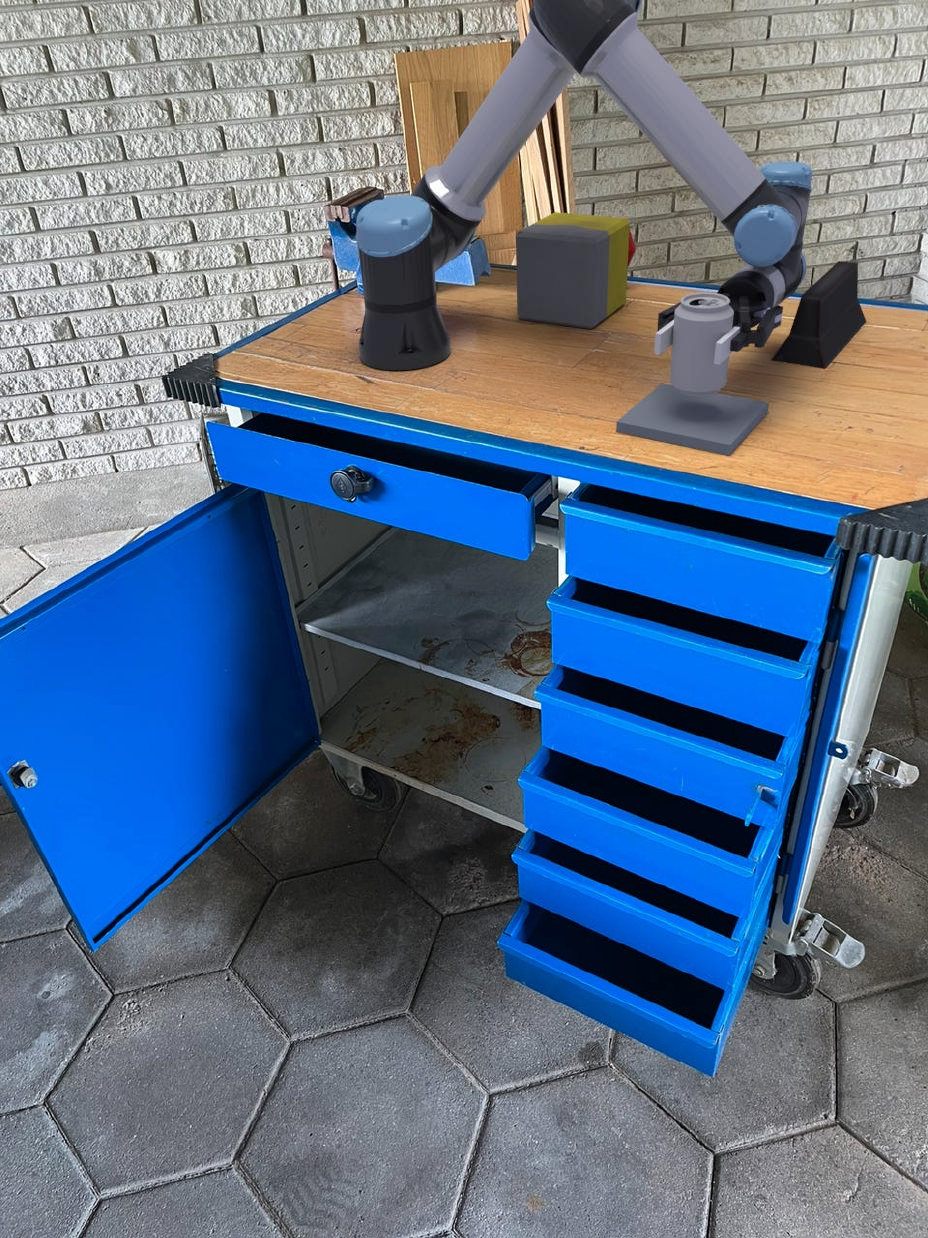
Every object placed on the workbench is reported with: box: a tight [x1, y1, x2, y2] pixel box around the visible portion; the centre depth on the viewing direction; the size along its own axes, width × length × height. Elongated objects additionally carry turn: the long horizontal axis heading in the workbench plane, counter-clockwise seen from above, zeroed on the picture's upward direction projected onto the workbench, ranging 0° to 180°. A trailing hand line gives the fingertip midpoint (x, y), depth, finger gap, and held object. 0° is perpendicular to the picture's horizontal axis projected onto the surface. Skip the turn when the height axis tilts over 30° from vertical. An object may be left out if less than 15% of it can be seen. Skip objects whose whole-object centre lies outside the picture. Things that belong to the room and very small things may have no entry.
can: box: [669, 292, 734, 396], centre depth 126 cm, size 8×8×12 cm
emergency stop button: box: [515, 211, 637, 330], centre depth 171 cm, size 15×24×15 cm, turn 150°
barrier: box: [771, 260, 867, 370], centre depth 153 cm, size 24×9×10 cm, turn 147°
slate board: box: [615, 382, 770, 456], centre depth 132 cm, size 16×15×2 cm
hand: (687, 348), depth 122 cm, fingers closed on can, 7 cm apart
